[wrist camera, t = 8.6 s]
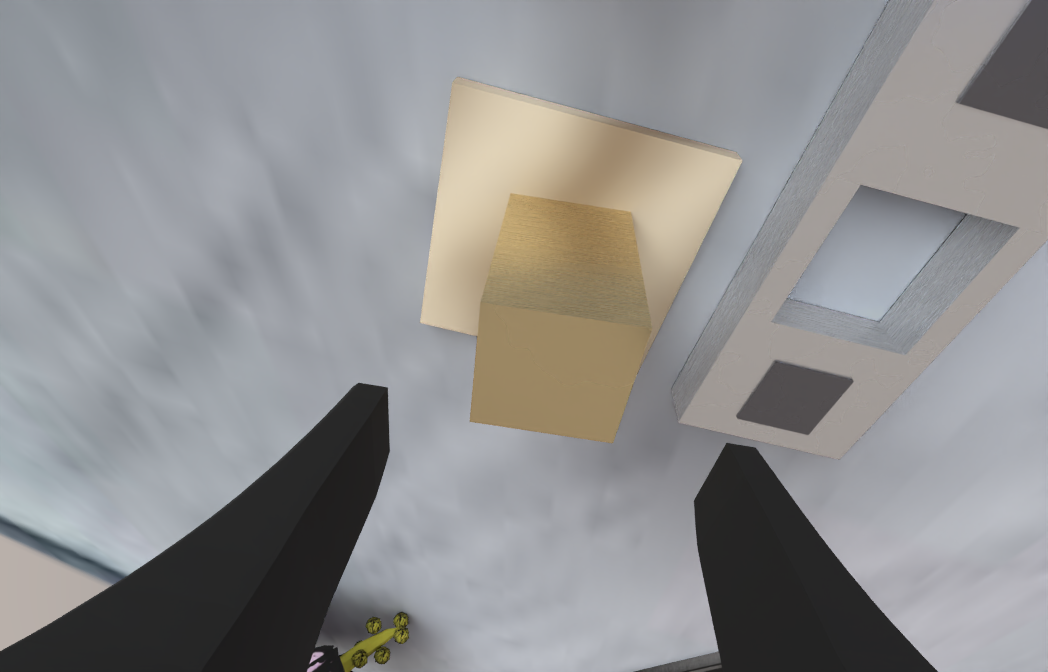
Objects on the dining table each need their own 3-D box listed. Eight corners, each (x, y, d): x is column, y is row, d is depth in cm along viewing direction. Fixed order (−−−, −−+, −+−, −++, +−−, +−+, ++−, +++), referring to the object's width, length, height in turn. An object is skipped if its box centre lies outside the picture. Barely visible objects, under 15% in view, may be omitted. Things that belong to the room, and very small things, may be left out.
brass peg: (604, 310, 20) (612, 443, 14) (498, 294, 20) (469, 421, 14) (631, 211, 17) (652, 328, 12) (510, 193, 17) (480, 301, 12)
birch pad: (736, 152, 17) (742, 160, 16) (635, 361, 22) (637, 373, 21) (457, 76, 16) (452, 82, 15) (424, 311, 21) (420, 322, 21)
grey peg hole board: (1255, -83, 12) (1361, -86, 11) (821, 424, 23) (840, 461, 22) (985, -171, 12) (1051, -189, 10) (671, 388, 23) (678, 424, 21)
